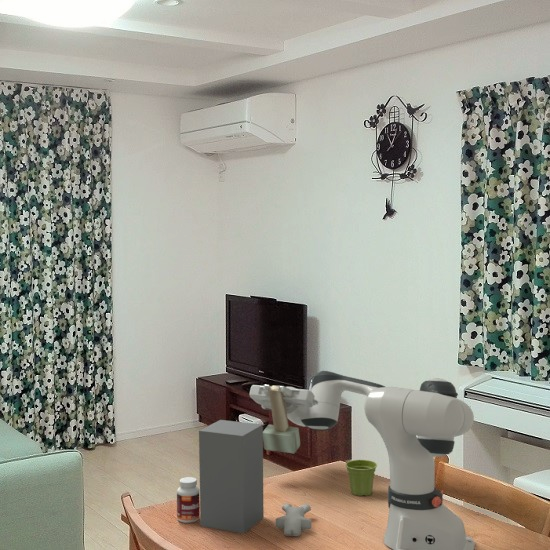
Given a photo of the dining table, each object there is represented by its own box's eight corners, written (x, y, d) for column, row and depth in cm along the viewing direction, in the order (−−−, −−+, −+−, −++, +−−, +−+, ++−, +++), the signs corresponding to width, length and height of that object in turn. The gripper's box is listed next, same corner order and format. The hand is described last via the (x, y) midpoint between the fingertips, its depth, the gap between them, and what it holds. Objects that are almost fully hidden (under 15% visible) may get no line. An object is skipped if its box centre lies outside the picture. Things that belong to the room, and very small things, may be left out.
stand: (263, 517, 219) (262, 424, 217) (243, 533, 208) (242, 435, 206) (221, 510, 224) (220, 419, 222) (200, 526, 213) (198, 430, 211)
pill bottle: (180, 525, 214) (180, 485, 213) (174, 517, 220) (173, 478, 219) (202, 521, 217) (202, 481, 216) (195, 513, 222) (195, 474, 221)
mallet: (293, 387, 239) (286, 395, 235) (300, 444, 246) (294, 453, 242) (263, 384, 243) (256, 392, 239) (271, 440, 250) (264, 449, 246)
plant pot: (339, 494, 236) (339, 465, 235) (355, 485, 244) (355, 457, 243) (367, 500, 231) (367, 471, 230) (382, 491, 238) (382, 462, 238)
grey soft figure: (273, 523, 204) (279, 496, 219) (273, 541, 205) (279, 513, 220) (310, 525, 203) (313, 497, 218) (310, 543, 204) (314, 514, 219)
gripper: (318, 414, 244) (303, 400, 233) (258, 408, 253) (240, 394, 241) (322, 394, 247) (307, 380, 235) (262, 389, 255) (245, 375, 244)
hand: (273, 387), depth 238 cm, fingers closed on mallet, 3 cm apart
